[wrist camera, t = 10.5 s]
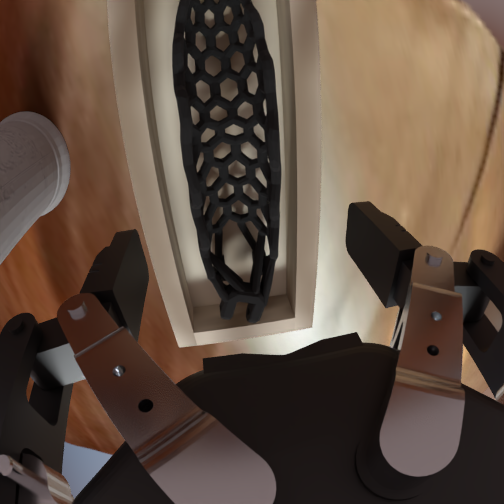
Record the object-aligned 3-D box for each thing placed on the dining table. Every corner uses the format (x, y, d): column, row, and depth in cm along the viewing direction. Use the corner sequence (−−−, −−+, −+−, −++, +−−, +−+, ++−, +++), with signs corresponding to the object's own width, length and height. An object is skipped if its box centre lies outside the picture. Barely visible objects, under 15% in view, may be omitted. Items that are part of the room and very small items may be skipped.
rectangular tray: (289, -28, 14) (310, -49, 10) (298, 293, 29) (312, 327, 25) (124, -13, 13) (106, -32, 9) (180, 310, 28) (179, 347, 24)
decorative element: (168, -3, 13) (154, -31, 8) (252, -12, 14) (271, -42, 9) (213, 294, 26) (217, 349, 21) (273, 285, 26) (289, 338, 21)
